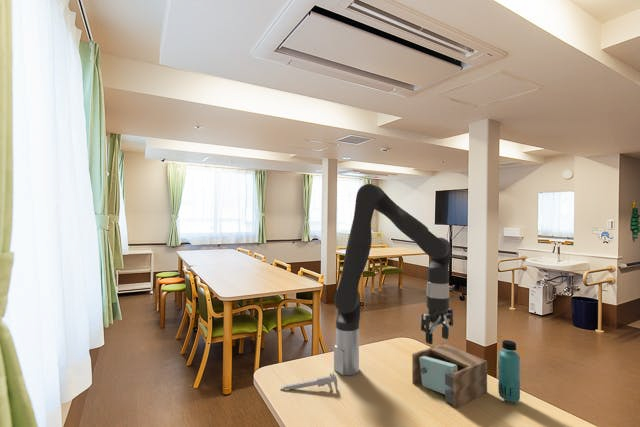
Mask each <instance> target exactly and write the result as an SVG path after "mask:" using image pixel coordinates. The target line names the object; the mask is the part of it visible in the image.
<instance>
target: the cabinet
mask: <svg viewBox="0 0 640 427" xmlns="http://www.w3.org/2000/svg"><path fill="white" fill-rule="evenodd" d="M411 356H412V358H411V359H412V364H411V365H412V366H411V367H412V368H411V369H412V373H411V374H412V384H413V385H417V384H419V383H422V379H421V370H420V361H419V357H421V356H426V357H430V358H434V359H437V360H441V361H444V362H448V363H452V364H455V365H457V370H458V371H457V372H455V373H453V376H451V375H449V374H447V373H446V374H445V385H447V386H449V387H451V388H453V393H452V392H450V391H448V390H445V394H444V401H445V402H446V403H448V404H450V405H451V406H452V407H453V408H454V409H458V408H460V407H461V406H463V405H465V404H467V403H469V402H472V401H473V400H475V399H477V398H479V397H481V396H482V395H485V394H486V393H487V392H488V360H485V359H483V358H482V357H478V356H477V355H473V354H471V353H469V352H466V351H464V350H461V349H459V348H456V347H453V346H451V345H448V344H446V343H440V344H437V345H434V346H432V347H431V346H430V347H428V348H425V349H422V350H420V351H416V352H413V353H412V355H411Z"/></svg>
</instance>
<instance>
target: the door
mask: <svg viewBox="0 0 640 427" xmlns="http://www.w3.org/2000/svg"><path fill="white" fill-rule="evenodd" d="M419 361H420V370H421V379H422V382H421V385H422V387H424V388H426V389H429V390H432V391H435V392H437V393H440V394H443V395H445V390H448V391H450V392H452V393H453V388H451V387H449V386H447V385H445V374H446V373H447V374H449V375H451V376H453V373H455V372H457V371H458V370H457V365H455V364H452V363H448V362H444V361H441V360H437V359H434V358H430V357H426V356H421V357H419Z"/></svg>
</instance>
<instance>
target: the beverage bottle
mask: <svg viewBox="0 0 640 427" xmlns="http://www.w3.org/2000/svg"><path fill="white" fill-rule="evenodd" d="M501 347H502V350H500V351H498V360H497V361H498V363H497V364H498V367H497V369H498V383H497V384H498V385H497V386H498V388H497V389H498V395H499V397H500V398H501V399H503V400H506V401H508V402H512V403H513V402H519V401H520V399H521V382H520V381H521V378H520V376H521V370H520V369H521V368H520V367H521V365H520V363H521V357H520V355H519V354H518V353H517V352H516V351H517V343H516V342H515V341H512V340H509V339H504V340H502V344H501Z"/></svg>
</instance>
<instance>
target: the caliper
mask: <svg viewBox="0 0 640 427" xmlns="http://www.w3.org/2000/svg"><path fill="white" fill-rule="evenodd" d="M332 383H333V384H334V387H335V391H338V378H337V376H336V374H335V373H334V372H332V373H329V375H327V376H323V377H318V378H316V379H313V380H308V381H302V382H296V383H291V384H286V385H283V387H281V388H280V389H293V390H297V389H302V388H308V387H314V386H317V387H318V388H320V387H324V386H326V385H327V386H328V388H329V390H330V391H332V392H333V385H332Z"/></svg>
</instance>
